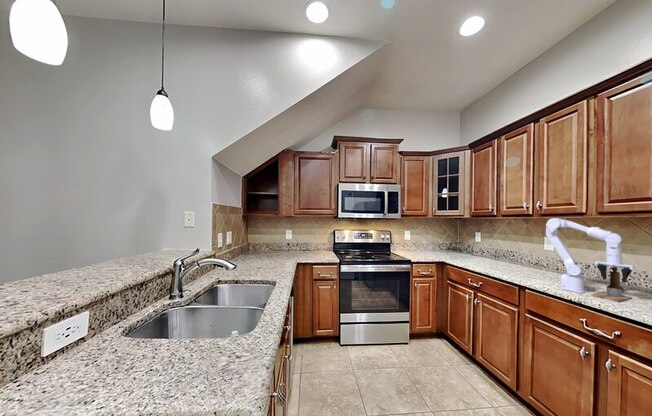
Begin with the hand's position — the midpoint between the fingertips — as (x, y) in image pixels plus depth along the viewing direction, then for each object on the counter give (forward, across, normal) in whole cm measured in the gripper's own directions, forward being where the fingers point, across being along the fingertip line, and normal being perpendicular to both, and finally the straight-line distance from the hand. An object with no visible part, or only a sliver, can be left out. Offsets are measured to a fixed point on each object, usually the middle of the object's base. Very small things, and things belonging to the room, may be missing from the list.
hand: (614, 280), depth 141 cm
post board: (+9, -1, -1) cm, 9 cm away
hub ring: (+8, 0, 0) cm, 8 cm away
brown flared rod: (+10, -6, +18) cm, 21 cm away
